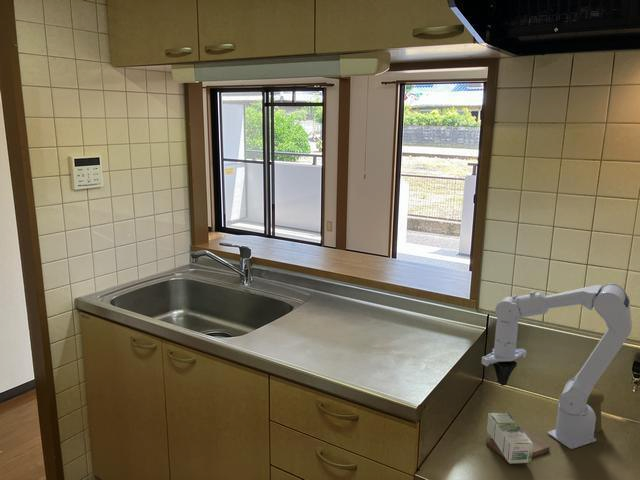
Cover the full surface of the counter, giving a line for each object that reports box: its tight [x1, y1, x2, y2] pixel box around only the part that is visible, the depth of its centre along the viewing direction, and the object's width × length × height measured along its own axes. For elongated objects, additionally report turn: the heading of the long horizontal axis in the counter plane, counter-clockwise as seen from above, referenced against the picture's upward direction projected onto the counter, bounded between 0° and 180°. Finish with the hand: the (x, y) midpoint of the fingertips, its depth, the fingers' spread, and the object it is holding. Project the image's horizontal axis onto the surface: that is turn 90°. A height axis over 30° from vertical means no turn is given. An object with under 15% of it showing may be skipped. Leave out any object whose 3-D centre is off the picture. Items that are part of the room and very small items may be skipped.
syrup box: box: [486, 411, 533, 464], centre depth 135 cm, size 6×6×14 cm
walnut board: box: [485, 428, 551, 465], centre depth 137 cm, size 13×9×1 cm
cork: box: [586, 387, 605, 433], centre depth 146 cm, size 6×6×11 cm
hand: (501, 383), depth 149 cm, fingers closed
